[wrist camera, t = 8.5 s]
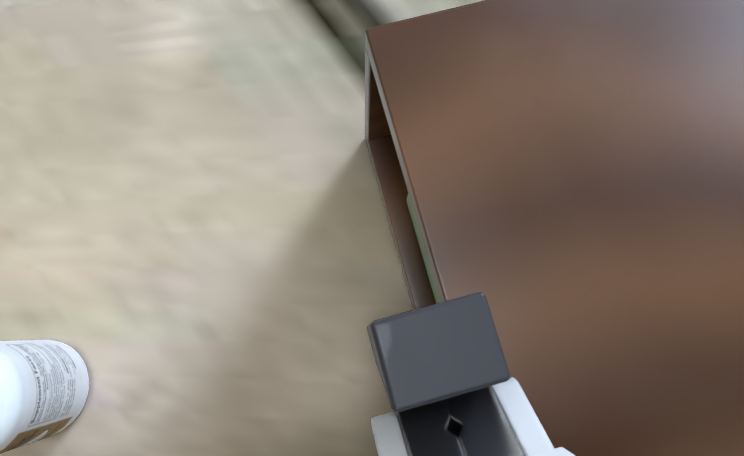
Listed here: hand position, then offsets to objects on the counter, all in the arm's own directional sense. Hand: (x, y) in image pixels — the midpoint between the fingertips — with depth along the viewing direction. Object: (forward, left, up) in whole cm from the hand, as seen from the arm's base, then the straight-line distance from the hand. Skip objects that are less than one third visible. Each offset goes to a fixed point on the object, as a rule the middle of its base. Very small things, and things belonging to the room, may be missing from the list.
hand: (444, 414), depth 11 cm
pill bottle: (+3, +16, -15) cm, 22 cm away
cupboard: (+3, -9, -15) cm, 17 cm away
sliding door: (+4, -1, -13) cm, 14 cm away
